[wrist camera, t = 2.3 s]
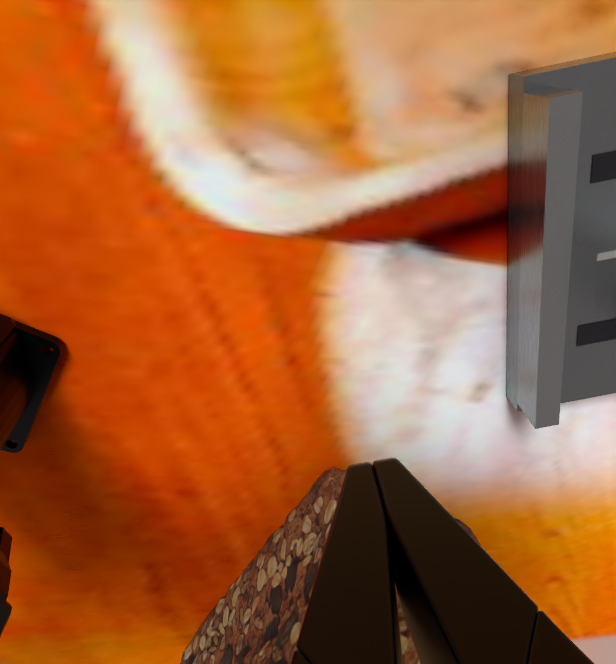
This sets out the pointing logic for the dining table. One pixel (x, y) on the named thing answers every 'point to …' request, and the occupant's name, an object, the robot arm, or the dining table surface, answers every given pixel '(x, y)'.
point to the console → (561, 236)
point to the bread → (279, 590)
